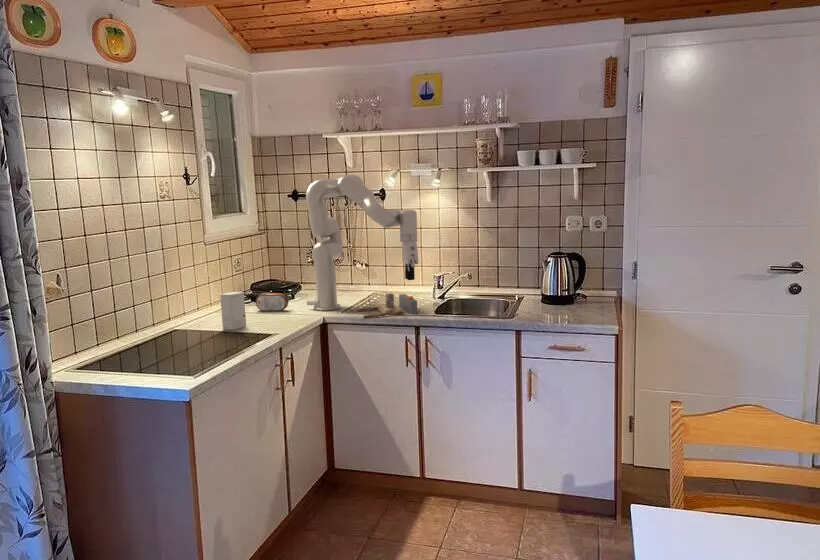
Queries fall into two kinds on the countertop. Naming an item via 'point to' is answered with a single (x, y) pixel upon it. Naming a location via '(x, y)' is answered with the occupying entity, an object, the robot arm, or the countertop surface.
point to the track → (376, 314)
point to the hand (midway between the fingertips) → (409, 279)
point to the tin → (271, 302)
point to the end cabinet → (407, 304)
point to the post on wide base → (389, 305)
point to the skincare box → (233, 310)
